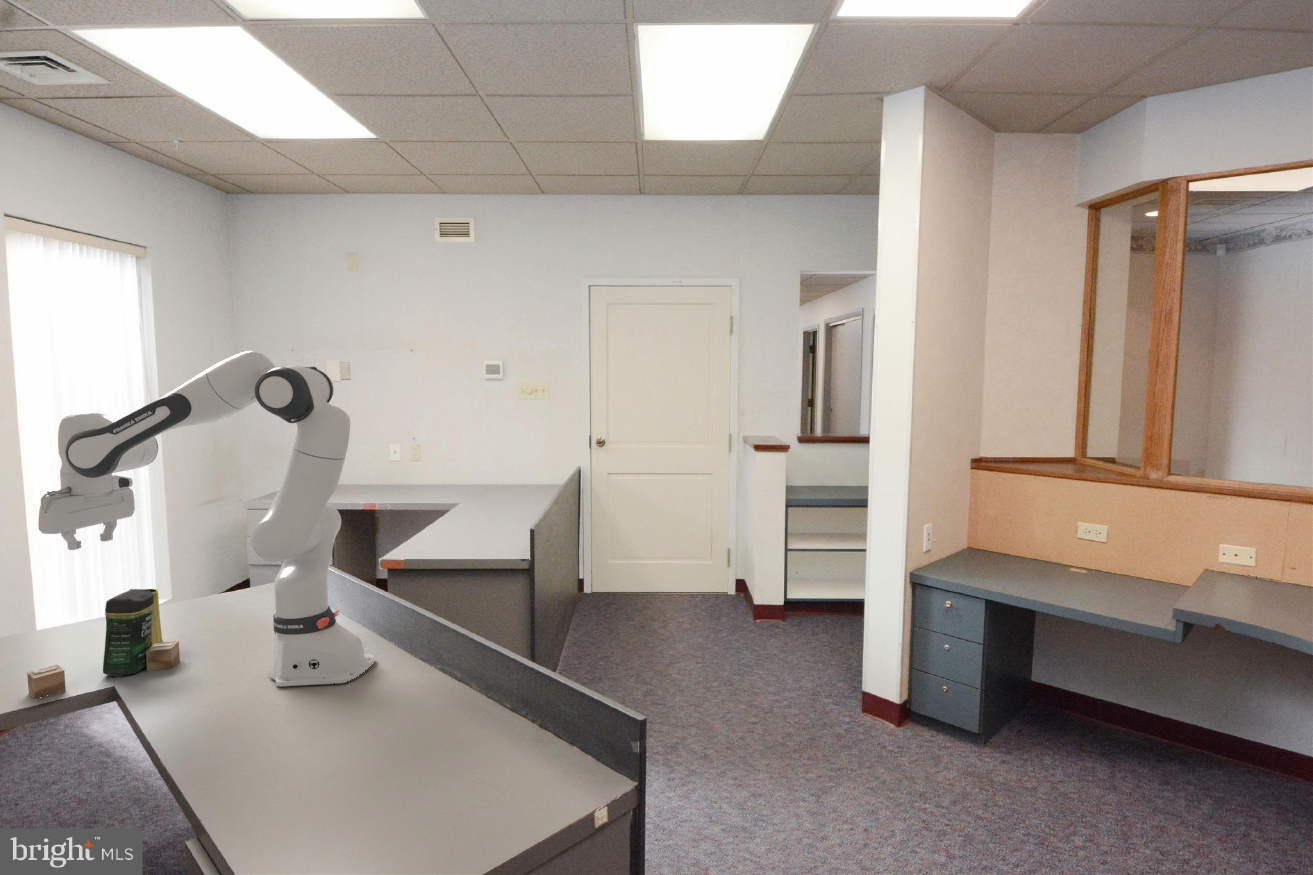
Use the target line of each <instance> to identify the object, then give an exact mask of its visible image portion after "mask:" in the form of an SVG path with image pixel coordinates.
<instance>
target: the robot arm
mask: <svg viewBox="0 0 1313 875" xmlns="http://www.w3.org/2000/svg"><path fill="white" fill-rule="evenodd" d="M333 396H334V384H333V382H332V380H331V378H330V376H328V374H326V373H325V372H323V371H322V370H320V369H318V368H315V367H309V366H300V365H288V366H275V364H274V363H273V361H271V360H270V358H268V356H266V355H264V354H263V353H261V352H258V351H256V350H255V351H254V350H248V351H244V352H240V353H238V354H234V355H233V356H230V357H229V358H226V359H224V360H222V361H219V362H217V363H216V364H213V365H212V366H211V367H209V368H207V369H205V370H203V371H202V372H200V373H198V374H197V375H196V376H194V377H193V378H191V379H190V380H188V381H186V382H185V383H183V384H182V385H180V386H178V387H177V388H175V389H172V391H170V392H168V393H166V394H165V395H163V396H161V397H160V398H158V399H156V400H154V401H153V402H150V403H147V405H144V406H142V407H141V408H139V409H137V410H135V411H133V412H131V413H129V414H127V415H126V416H124V417H121V418H119V419H118V420H115V419H113V418H111V417H109V416H108V415H107V414H106V413H104V412H99V411H90V412H89V411H88V412H81V413H73V414H69V415H66V416H65V417H62V419H61V421H60V423H59V426H58V431H57V447H58V448H57V449H58V451H57V452H58V455H59V458H60V460H61V467H60V469H59V477H60V488H58V489H52V490H48V491H47V492H46V493H44V495H42V497H41V498H40V506H39V512H38V530H39V531H40V532H41V534H44V535H57V534H58V535H59V534H60V535H61V537H62V538H63V539H64V541H66V544H67V550H68V551H75V550H76V551H77V550H79V549H81V548H82V540H77V538H76V535H77V530H79V529H82V528H83V529H85V528H87V527H92V526H96V525H101V524H102V525H103V526H105V527H104V528H103V531H102V533H99V538H100V541H101V542H109V541H112V540H114V533H115V532H114V531H115V529H116V527H117V525H118V522H117V521H118V520H122V519H126V518H130V517H131V518H132V516H133V515H134V514H135V511H136V510H135V509H136V508H135V507H136V506H135V495H134V494H135V493H134V491H133V489H132V487H133V483H134V482H133V478H131V477H127V476H121V475H116V473H120V472H126V471H129V470H130V471H131V470H134V469H140V468H143V467H145V466H149V465H150V464H151V463H153V462H154V461H155V459H156V457H157V455H158V451H159V445H158V444H159V443H158V441H157V438H156V437H157V436H159V435H161V434H164V433H165V432H168V431H171V430H174V429H179V428H183V427H188V426H195V425H201V424H207V423H213V422H214V423H215V422H217V421H220V420H223V419H225V418H229V417H230V416H232V415H235V414H238V413H239V412H240V411H243V410H244V409H245V408H247V407H249V406H250V405H253V404H254V403H255V402H257V403H258V405H260V407H261V408H263V409H264V410H265V411H267V412H269V413H271V414H272V415H274V416H276V417H279V418H280V419H282V420H284V421H285V422H287V423H288V424H296V427H297V430H296V436H295V439H294V443H293V447H292V451H291V454H290V457H289V458H290V459H289V461H288V465H287V469H286V473H285V476H284V478H283V481H282V483H281V486H280V487H279V489H278V491H277V494H275V497H274V499H273V501H272V502H271V503H270V506H269V508H268V509H267V512H266V513H265V514H264V516H263V517H262V519H261V520H260V521H259V522H258V524H256V525H255V527H253V529H252V531H251V534H250V538H249V540H250V541H249V542H250V547H251V550H252V551H253V553H254V554H255V555H256V557H258V558H259V559H261V560H263V561H266V562H270V563H279V562H282V563H281V567H280V569H279V572H278V573H277V575H276V577H275V579H274V583H273V590H274V592H273V593H274V594H273V595H274V610H275V611H274V614H273V620H272V621H273V632H274V636H275V640H274V643H275V644H274V650H273V651H274V652H273V653H274V654H273V659H272V664H271V669H270V672H269V677H270V678H271V679H272V680H274V681H275V685H276V686H277V687H292V686H293V687H296V686H312V685H313V686H314V685H332V684H334V683H335V684H344V683H347V681H348V682H350V680H351V679H353V680H355V679H357V678H358V677H360V676H361V675H360V674H362V673H363V672H364V673H366V672H365V670H367V669H368V668H369V667H370V665H372V663H373V661H374V662H375V657H374V655H373V654H369V653H365V650H364V646H363V642H362V639H361V638H360V637H359V636H358V635H356V634H354V633H353V632H351V631H350V630H348V629H347V628H346V627H344V626H343V625H341V624H339V623H338V622H337V619H336V617H337V616H339V615H340V613H339V612H340V610H339V609H338V610H336V611H334V612H333V610H332V608H331V606H330V605H329V592H328V590H329V588H328V585H329V584H328V583H329V582H328V578H329V569H330V568H329V567H330V562H331V557H332V552H333V548H334V544H335V539H336V537H337V535H338V533H339V532H340V529H341V526H342V516H341V514H340V512H339V510H338V509H337V508H336V507H335V506H334V505H332V504H330V503H328V502H329V500H330V499H331V497H332V496H333V495H334V493H335V492H337V491H336V490H337V489H338V486H339V482H340V478H341V476H342V471H343V468H344V464H345V460H346V457H347V453H348V447H349V442H350V434H351V419H350V416H349V414H348V413H347V412H346V411H344V410H343V409H342V408H339V407H338V406H335V405H331V404H330V402H331V400H332V399H333ZM114 473H115V474H114ZM373 664H374V663H373ZM372 666H373V665H372ZM370 668H371V667H370ZM370 668H369V669H370ZM369 669H368V670H369ZM368 670H367V671H368ZM364 673H363V674H364ZM363 674H362V675H363ZM359 675H360V676H359ZM357 676H358V677H357ZM356 677H357V678H356ZM354 678H355V679H354ZM351 681H352V680H351ZM335 684H334V685H335Z"/></svg>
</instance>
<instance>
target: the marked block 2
mask: <svg viewBox="0 0 1313 875" xmlns="http://www.w3.org/2000/svg"><path fill="white" fill-rule="evenodd" d="M180 658H181V656H180V641H179V640H175V641H173V640H172V641H163V642H162V643H154V644H153V645H152V646H151V647H150V648H149V649H148V650H147V651H146V661H147V667H146V671H147V672H154V671H162V670H163V671H164V670H170V669H171V670H172V669H173V668H174V667H175V666H177V664H178V663H179V662H180V661H181V660H180Z"/></svg>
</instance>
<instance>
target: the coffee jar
mask: <svg viewBox="0 0 1313 875" xmlns="http://www.w3.org/2000/svg"><path fill="white" fill-rule="evenodd" d="M148 589H149V588H144V589H142V588H137V589H136V588H130V589H129V590H127V591H125V592H122V593H120V594H117V595H115V596H113V597H111V598H110V599H108V600H107V601H106V602H105V607H104V608H105V610H104V615H105V622H106V623H105V624H106V625H105V640H104V641H105V642H104V653H103V661H102V662H103V663H102V673H103V674H104V675H107V676H112V677H123V676H127V675H134V674H137V673H139V672H141V671H143V669H145V668H147V661H146V651H147V650H148V649H149V648H150V647H151V646H152V638H151V624H152V611H153V606H154V599H153V597H154V595H153V593H152V592H151V591H149V590H148Z"/></svg>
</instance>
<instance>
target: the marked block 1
mask: <svg viewBox="0 0 1313 875" xmlns="http://www.w3.org/2000/svg"><path fill="white" fill-rule="evenodd" d="M65 674H66V673H65V669H64V668H62V667H61V666H60V665H58V664H53V665H51V666H47V667H43V668H39V669H36V670H32V671H28V672H27V674H26V675H27V676H26V677H27V686H28V687H27V688H28V689H27V690H28V694H29V693H30V694H31V695H32V696H33V697H34V698H35V699H37V700H39V699H38V698H40V697H44V698H46V696H47V695H48V697H50V696H49V695H51V696H54V695H57V694H56V693H58V694H60V693H59V692H61V693H64V692H67V691H66V689H67V688H66V679H65V678H66V675H65ZM30 694H29V695H30ZM53 694H54V695H53ZM31 695H30V696H31ZM32 696H31V697H32ZM33 697H32V698H33ZM34 698H33V699H34ZM35 699H34V700H35Z"/></svg>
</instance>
